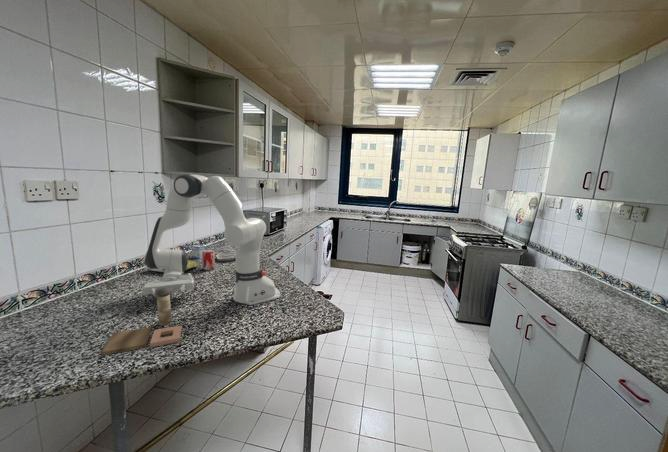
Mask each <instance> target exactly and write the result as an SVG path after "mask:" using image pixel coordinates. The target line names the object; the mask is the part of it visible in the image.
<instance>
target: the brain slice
mask: <svg viewBox="0 0 668 452" xmlns="http://www.w3.org/2000/svg"><path fill="white" fill-rule="evenodd" d="M236 253H237V251H231V250H225V251H220V252H219V253H218V254H216V255H215V259H216V260H217V261H218V262H219V263H223V262H226V263H227V262H232V261H234V260H235V261H236V258H235V256H236Z"/></svg>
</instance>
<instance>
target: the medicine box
mask: <svg viewBox="0 0 668 452" xmlns="http://www.w3.org/2000/svg"><path fill="white" fill-rule="evenodd" d="M204 250H205V246H204V245H199V244H194V245H191V258H193V259H197V260H202V253H203V251H204Z"/></svg>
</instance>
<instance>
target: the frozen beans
mask: <svg viewBox="0 0 668 452" xmlns="http://www.w3.org/2000/svg"><path fill="white" fill-rule="evenodd" d="M199 265H200V266H201V265H203V263H201V262H198V261H196V260H192V259H191V260H189V259H188V263H187V268H186V270H185V271H187V270H189V269H192V268H194V267H197V266H199ZM143 269H145V270H147V271H152V272H160V273H165V271H166V269H163V268H159V269H150V268H148V267H147V266H145V267H143Z"/></svg>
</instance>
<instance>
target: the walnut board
mask: <svg viewBox="0 0 668 452" xmlns="http://www.w3.org/2000/svg"><path fill="white" fill-rule="evenodd" d="M152 330H153V327H152V326H149V327H143V328H142V327H141V328H135V329H130V330H122V331H117V332H112V334H111V336H110V338H109V339H108V341H107V343H106V345H105V346H104V347H103V350H101V355H102V356H106V355H111V354H116V353H122V352H128V351H133V350H139V349H144V348H146V346H147V344H148V342H149V339H150V336H151V333H152Z"/></svg>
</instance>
